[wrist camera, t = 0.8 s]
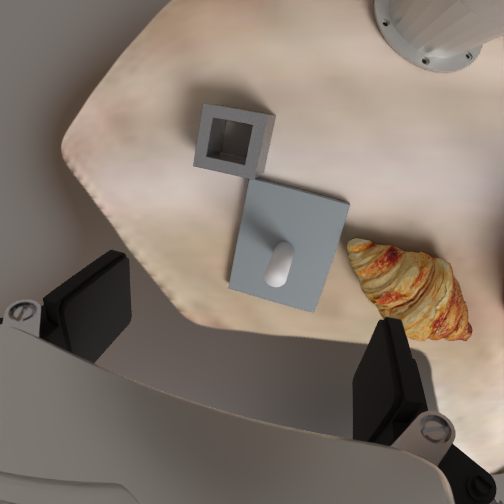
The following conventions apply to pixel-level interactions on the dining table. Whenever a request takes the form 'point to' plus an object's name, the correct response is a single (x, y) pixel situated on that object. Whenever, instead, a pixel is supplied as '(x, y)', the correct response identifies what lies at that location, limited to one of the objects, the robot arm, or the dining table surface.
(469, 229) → the dining table surface
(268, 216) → the keeper
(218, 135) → the grey hollow block
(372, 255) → the croissant
